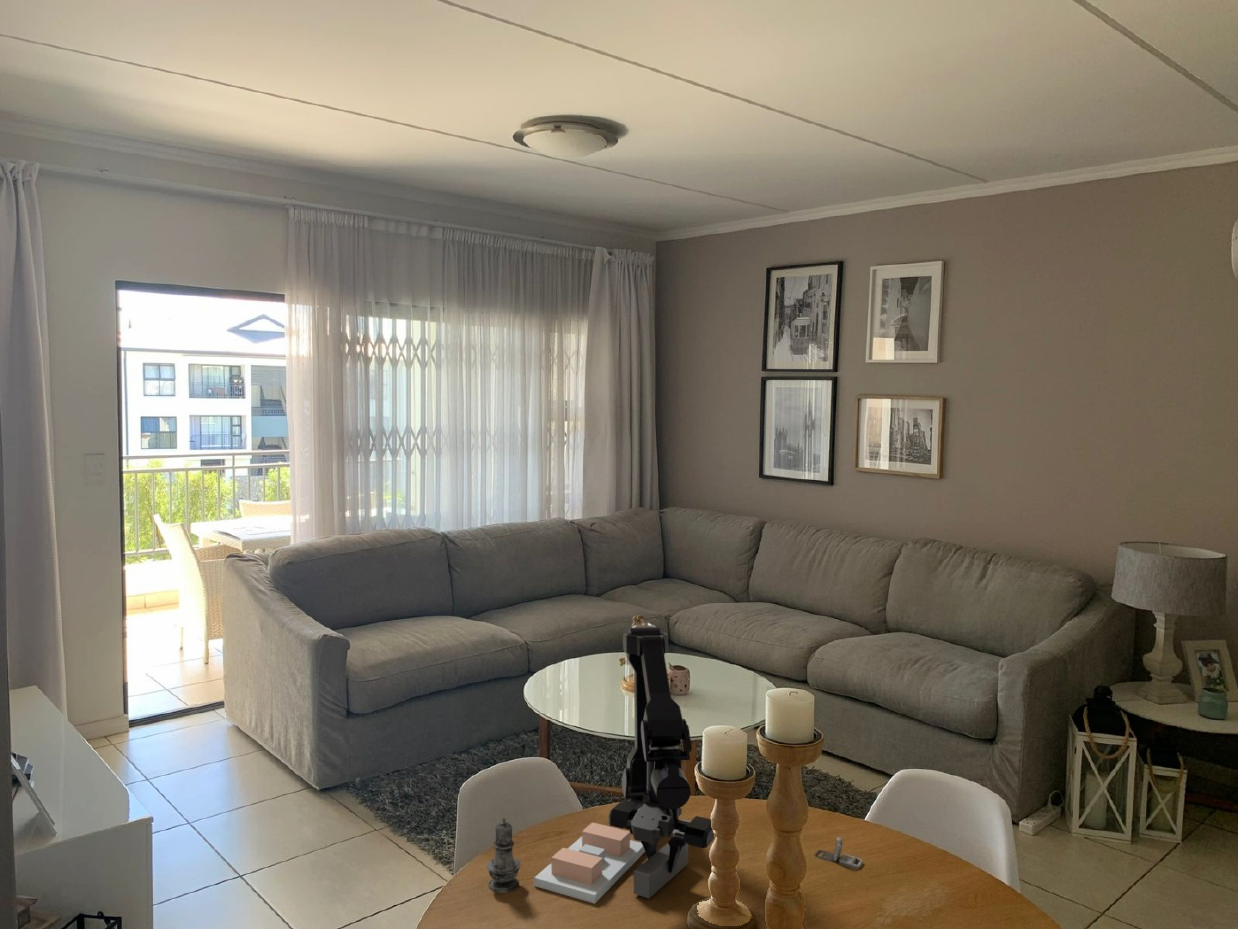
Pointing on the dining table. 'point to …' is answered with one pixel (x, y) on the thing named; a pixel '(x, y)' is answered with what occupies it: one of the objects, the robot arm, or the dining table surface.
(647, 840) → the robot arm
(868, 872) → the dining table surface
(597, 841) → the display stand
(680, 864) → the frame bar
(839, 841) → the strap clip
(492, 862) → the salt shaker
